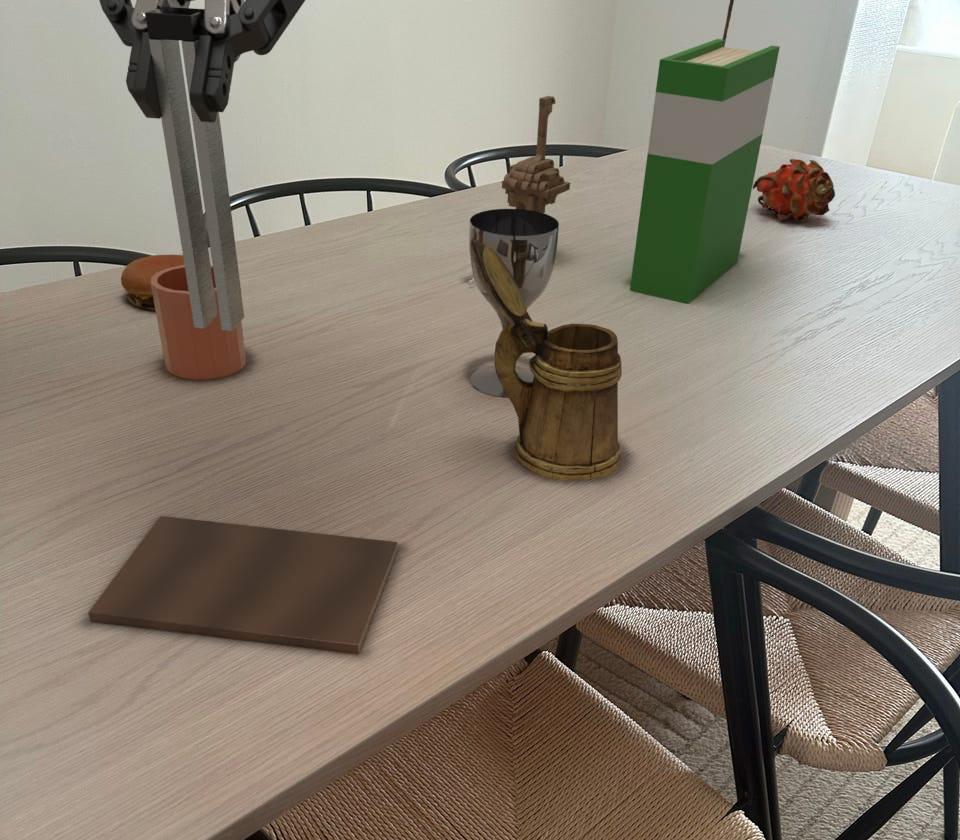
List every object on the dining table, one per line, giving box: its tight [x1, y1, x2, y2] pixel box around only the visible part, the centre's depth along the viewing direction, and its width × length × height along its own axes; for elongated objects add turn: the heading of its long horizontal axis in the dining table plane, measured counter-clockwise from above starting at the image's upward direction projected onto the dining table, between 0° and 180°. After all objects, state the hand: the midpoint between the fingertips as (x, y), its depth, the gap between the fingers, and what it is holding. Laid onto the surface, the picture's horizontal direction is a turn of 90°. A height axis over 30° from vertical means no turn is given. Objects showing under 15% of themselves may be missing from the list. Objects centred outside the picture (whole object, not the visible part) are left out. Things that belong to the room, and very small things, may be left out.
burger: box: [120, 254, 184, 311], centre depth 108 cm, size 10×9×5 cm
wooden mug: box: [469, 239, 623, 481], centre depth 79 cm, size 9×14×18 cm, turn 81°
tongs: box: [145, 7, 245, 331], centre depth 58 cm, size 2×2×17 cm
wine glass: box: [468, 208, 560, 398], centre depth 92 cm, size 8×8×15 cm
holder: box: [151, 264, 247, 381], centre depth 94 cm, size 8×8×9 cm
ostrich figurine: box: [467, 95, 571, 287], centre depth 116 cm, size 17×7×18 cm, turn 145°
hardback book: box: [629, 38, 781, 304], centre depth 115 cm, size 18×7×24 cm, turn 150°
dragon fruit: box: [752, 158, 836, 223], centre depth 140 cm, size 8×8×12 cm
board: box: [87, 515, 398, 655], centre depth 68 cm, size 18×12×2 cm, turn 82°
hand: (175, 110), depth 54 cm, fingers closed on tongs, 2 cm apart
